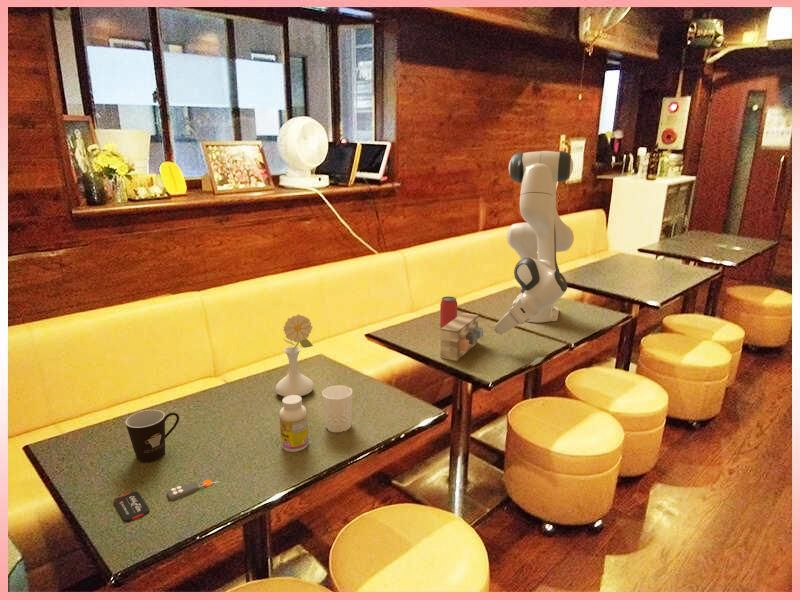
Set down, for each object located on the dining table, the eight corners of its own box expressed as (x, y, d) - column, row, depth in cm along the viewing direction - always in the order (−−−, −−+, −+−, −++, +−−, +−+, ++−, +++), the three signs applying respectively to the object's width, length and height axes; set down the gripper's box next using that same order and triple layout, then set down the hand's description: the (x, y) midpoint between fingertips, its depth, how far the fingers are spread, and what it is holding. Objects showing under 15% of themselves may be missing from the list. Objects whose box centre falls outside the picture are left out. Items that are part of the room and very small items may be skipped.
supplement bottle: (278, 442, 141) (274, 396, 137) (303, 435, 144) (300, 390, 140) (286, 455, 135) (283, 408, 131) (312, 448, 138) (309, 401, 134)
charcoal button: (468, 340, 197) (468, 332, 197) (476, 341, 196) (476, 333, 195) (464, 343, 195) (465, 335, 194) (472, 344, 194) (473, 336, 193)
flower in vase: (267, 396, 165) (261, 316, 157) (290, 381, 175) (285, 304, 167) (304, 405, 159) (299, 322, 152) (326, 389, 169) (322, 310, 162)
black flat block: (111, 499, 119) (136, 489, 122) (112, 502, 119) (137, 492, 122) (125, 522, 112) (150, 511, 115) (125, 524, 112) (151, 514, 116)
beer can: (457, 330, 217) (458, 301, 213) (440, 330, 217) (440, 301, 214) (456, 324, 223) (456, 296, 220) (439, 324, 223) (440, 296, 220)
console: (462, 339, 208) (463, 312, 205) (477, 342, 205) (478, 315, 202) (440, 357, 192) (440, 328, 189) (456, 360, 189) (457, 331, 186)
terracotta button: (460, 346, 192) (460, 338, 191) (468, 348, 191) (469, 339, 190) (457, 349, 189) (457, 341, 189) (465, 351, 188) (465, 342, 187)
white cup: (320, 422, 150) (318, 388, 147) (348, 416, 153) (346, 383, 150) (328, 436, 143) (326, 401, 140) (357, 430, 146) (356, 395, 143)
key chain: (171, 503, 119) (170, 497, 118) (166, 494, 122) (165, 488, 121) (231, 482, 126) (230, 476, 126) (225, 474, 129) (224, 468, 129)
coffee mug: (131, 468, 130) (124, 430, 127) (131, 450, 138) (125, 413, 135) (184, 457, 135) (179, 420, 132) (182, 439, 142) (177, 404, 139)
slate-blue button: (475, 334, 203) (475, 326, 202) (482, 336, 201) (483, 328, 201) (471, 337, 200) (472, 329, 199) (479, 338, 199) (480, 330, 198)
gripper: (528, 293, 198) (500, 315, 205) (510, 308, 181) (480, 331, 188) (540, 307, 197) (511, 328, 204) (522, 323, 180) (492, 346, 187)
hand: (496, 330), depth 196 cm, fingers closed
